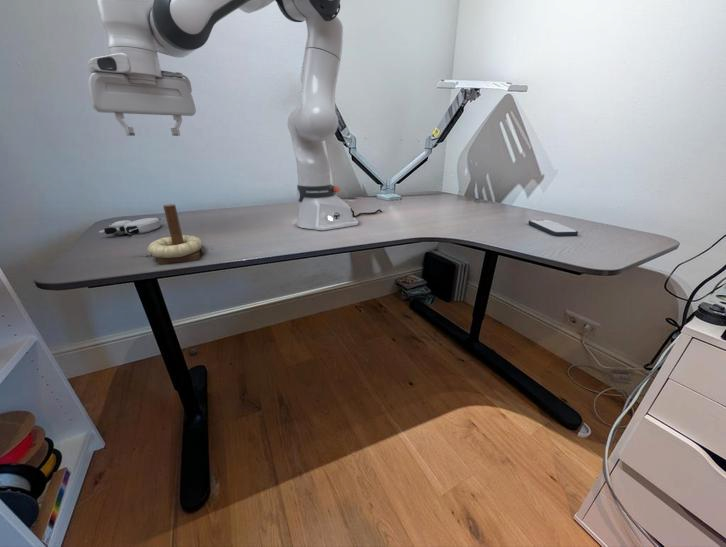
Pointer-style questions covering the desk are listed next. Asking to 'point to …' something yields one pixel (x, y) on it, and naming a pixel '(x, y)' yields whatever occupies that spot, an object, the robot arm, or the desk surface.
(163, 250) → the cream ring
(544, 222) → the phone case
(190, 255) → the stand
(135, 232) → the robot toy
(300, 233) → the desk surface
